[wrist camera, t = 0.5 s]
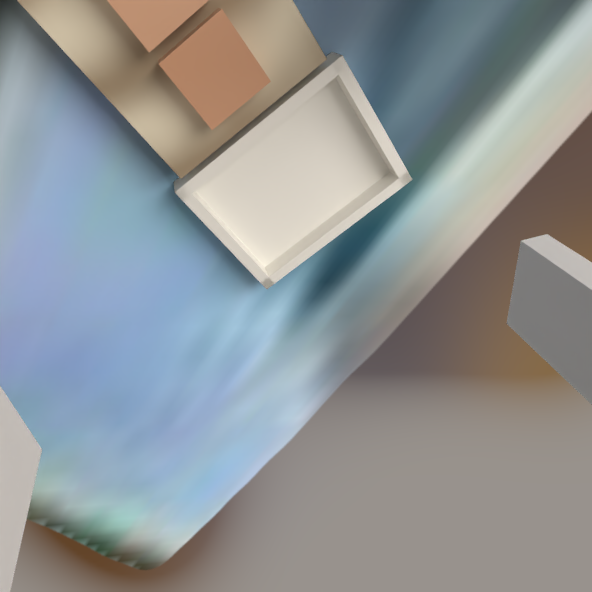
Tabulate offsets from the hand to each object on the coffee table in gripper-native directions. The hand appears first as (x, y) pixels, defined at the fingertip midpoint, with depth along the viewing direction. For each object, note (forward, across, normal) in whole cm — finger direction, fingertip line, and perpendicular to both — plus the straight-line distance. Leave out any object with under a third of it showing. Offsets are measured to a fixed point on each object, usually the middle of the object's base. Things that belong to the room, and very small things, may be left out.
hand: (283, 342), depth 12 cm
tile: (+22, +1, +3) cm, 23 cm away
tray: (+25, +6, -5) cm, 26 cm away
